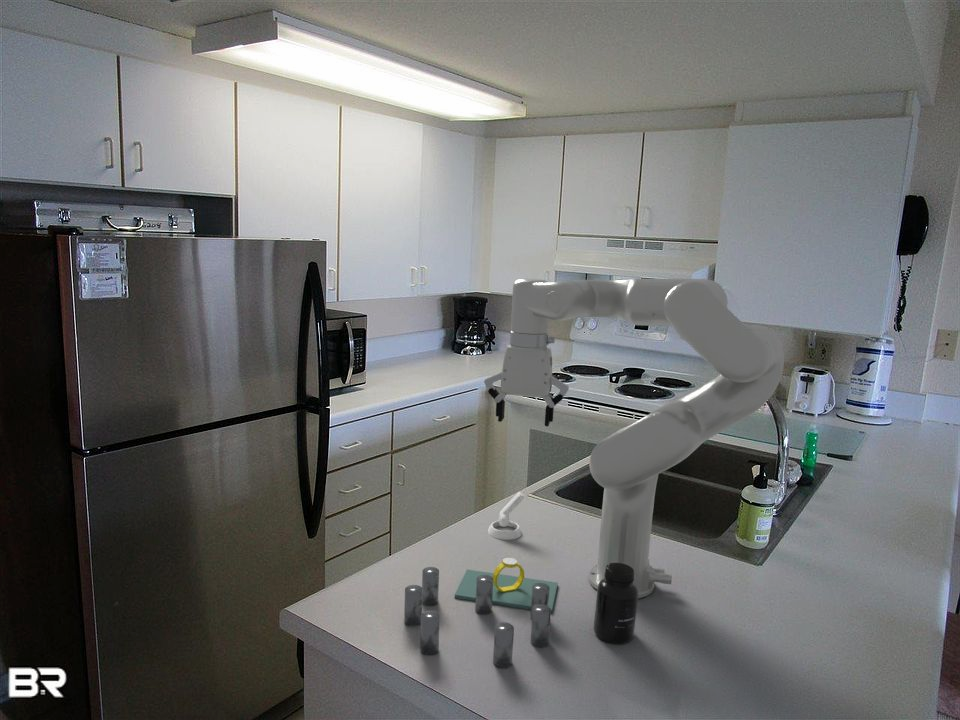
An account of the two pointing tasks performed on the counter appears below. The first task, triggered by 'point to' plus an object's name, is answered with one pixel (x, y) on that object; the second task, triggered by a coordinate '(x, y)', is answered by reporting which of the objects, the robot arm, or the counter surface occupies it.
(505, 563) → the watch
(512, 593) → the mat
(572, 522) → the counter surface
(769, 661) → the counter surface
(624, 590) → the supplement bottle
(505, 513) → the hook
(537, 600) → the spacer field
